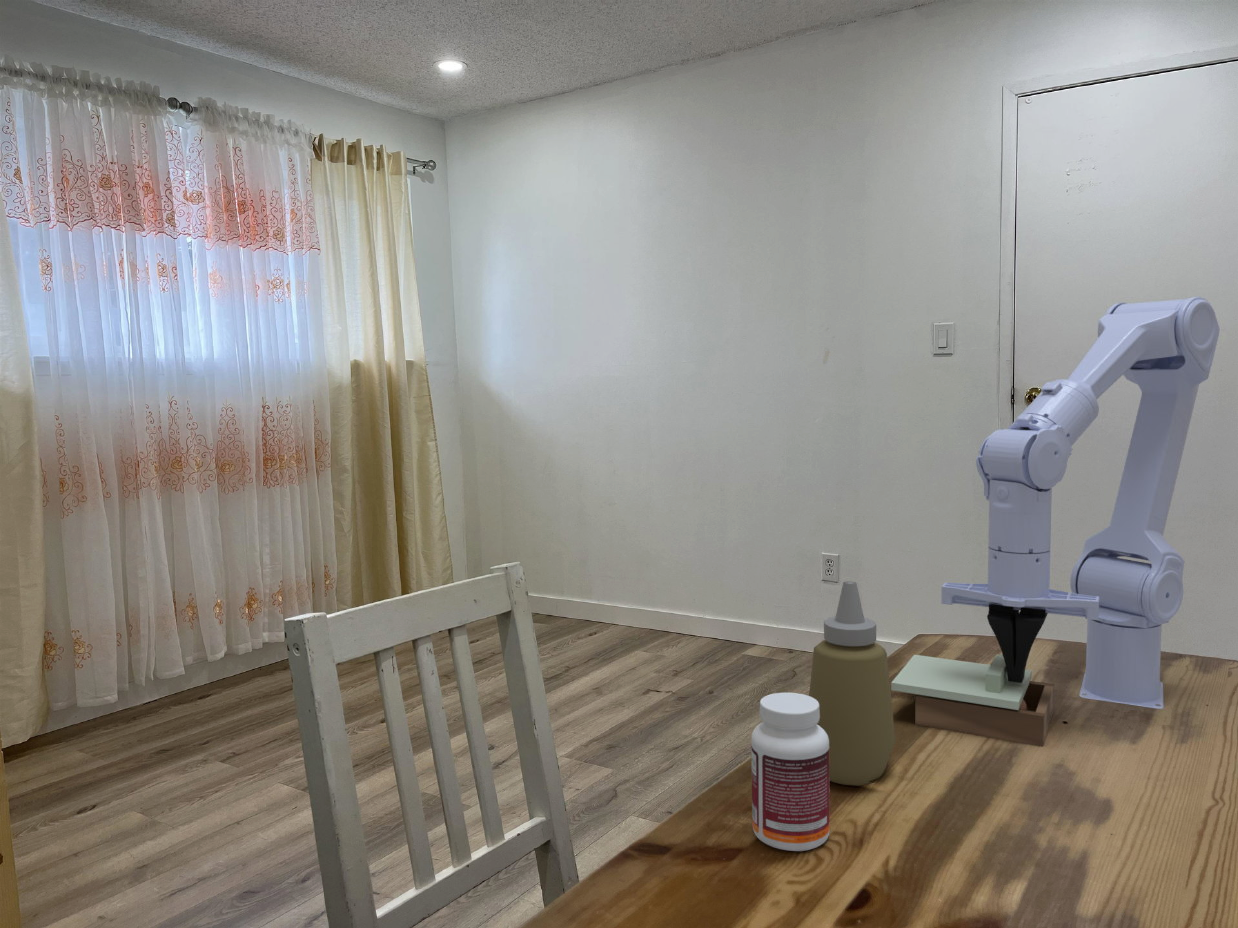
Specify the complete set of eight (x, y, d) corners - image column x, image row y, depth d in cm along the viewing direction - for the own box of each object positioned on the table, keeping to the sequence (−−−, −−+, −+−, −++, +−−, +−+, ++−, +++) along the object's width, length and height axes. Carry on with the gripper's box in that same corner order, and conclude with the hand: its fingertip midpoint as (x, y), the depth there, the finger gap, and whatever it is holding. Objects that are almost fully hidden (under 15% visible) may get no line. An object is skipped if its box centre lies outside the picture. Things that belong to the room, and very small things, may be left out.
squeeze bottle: (788, 775, 84) (787, 584, 82) (832, 747, 90) (832, 569, 88) (868, 802, 78) (869, 598, 77) (910, 770, 84) (912, 580, 82)
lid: (914, 661, 103) (914, 639, 103) (1031, 677, 97) (1032, 653, 97) (891, 690, 94) (891, 665, 94) (1018, 709, 88) (1019, 683, 88)
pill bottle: (846, 838, 73) (846, 705, 72) (789, 862, 69) (789, 723, 68) (791, 808, 78) (790, 683, 77) (736, 829, 74) (734, 699, 73)
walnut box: (935, 698, 102) (936, 667, 102) (1053, 717, 96) (1054, 684, 96) (915, 729, 94) (915, 695, 93) (1042, 752, 88) (1043, 716, 87)
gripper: (936, 549, 92) (934, 680, 93) (1098, 562, 84) (1093, 703, 86) (949, 537, 98) (947, 660, 99) (1101, 548, 90) (1097, 680, 92)
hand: (1016, 679), depth 93 cm, fingers closed
